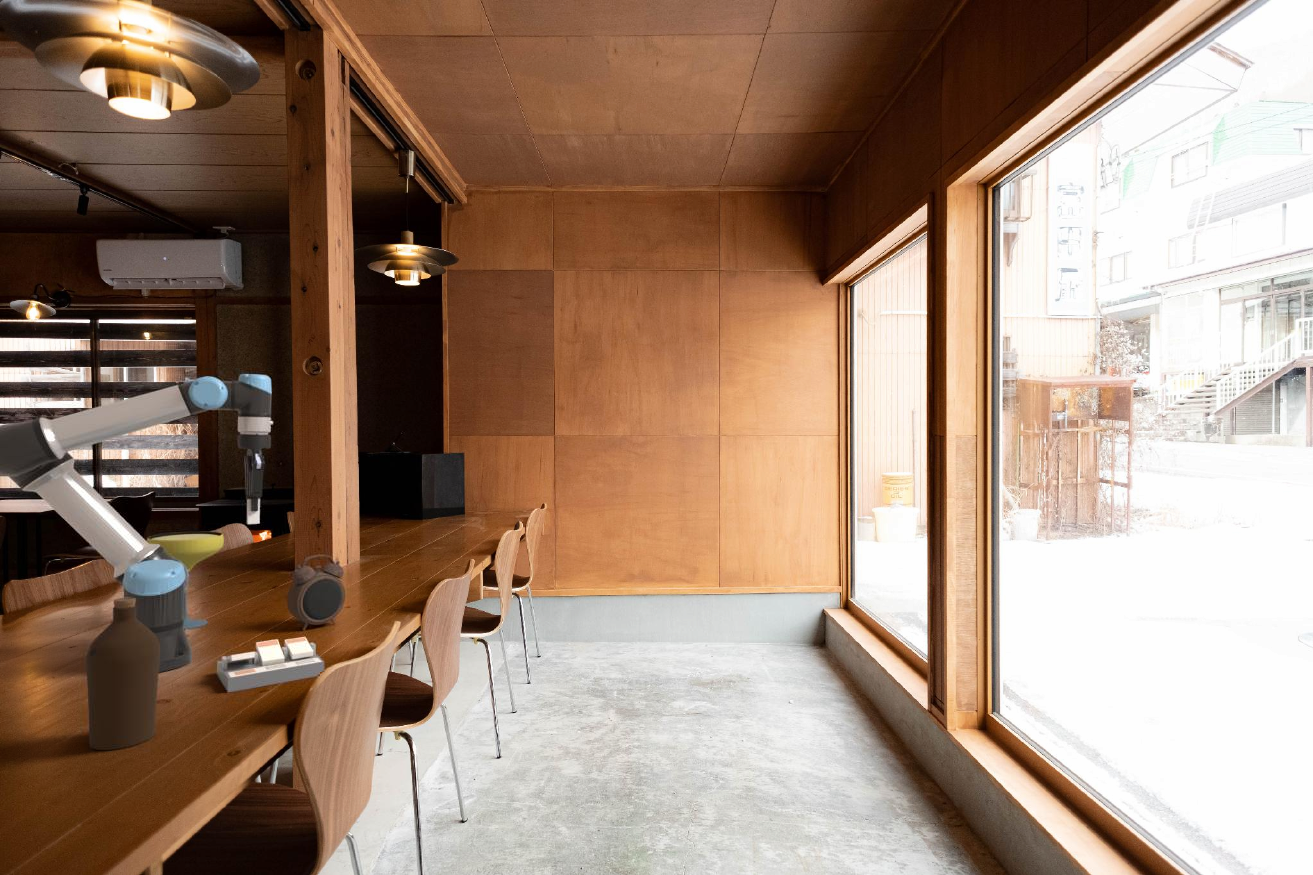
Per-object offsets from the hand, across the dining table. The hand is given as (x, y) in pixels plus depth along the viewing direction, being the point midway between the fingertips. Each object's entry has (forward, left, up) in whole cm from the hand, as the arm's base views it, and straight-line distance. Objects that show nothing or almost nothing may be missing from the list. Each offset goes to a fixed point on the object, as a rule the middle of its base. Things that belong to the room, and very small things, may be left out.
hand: (253, 523), depth 191 cm
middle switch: (-2, -32, -26) cm, 41 cm away
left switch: (-8, -32, -26) cm, 42 cm away
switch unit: (-2, -33, -30) cm, 45 cm away
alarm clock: (+17, +3, -31) cm, 35 cm away
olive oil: (-30, -55, -31) cm, 70 cm away
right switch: (+4, -32, -26) cm, 41 cm away
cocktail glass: (-12, +25, -31) cm, 41 cm away
